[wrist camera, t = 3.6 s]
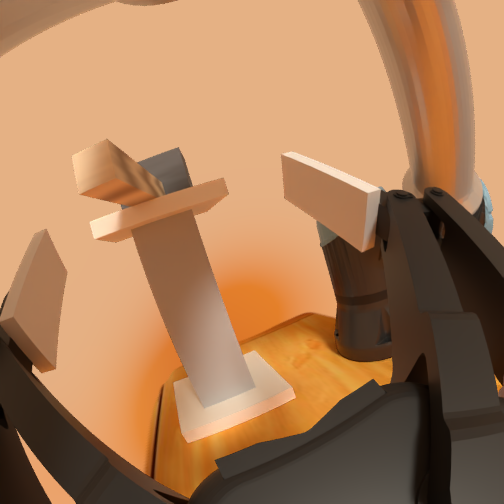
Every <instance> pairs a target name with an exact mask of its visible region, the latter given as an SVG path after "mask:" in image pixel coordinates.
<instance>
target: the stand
mask: <svg viewBox="0 0 504 504" xmlns="http://www.w3.org/2000/svg"><path fill="white" fill-rule="evenodd" d="M228 194H229V193H228V190H227V187H226V184H225V181H224V178H221V179H217V180H214V181H210V182H206V183H203V184H200V185H196V186H193V187H189V188H186V189H183V190H180V191H176V192H173V193H170V194H167V195H164V196H161V197H158V198H155V199H152V200H149V201H146V202H143V203H140V204H137V205H134V206H131V207H128V208H126V209H123V210H120V211H117V212H115V213H112V214H109V215H106V216H104V217H101V218H99V219H96V220H93V221H91V222H90V226H91V229H92V233H93V237H94V239H95V240H102V241H110V242H119V241H122V240H125V239H127V238H130V237H133V238H134V241H135V244H136V247H137V250H138V253H139V256H140V259H141V262H142V265H143V268H144V271H145V274H146V276H147V279H148V282H149V285H150V288H151V290H152V293H153V296H154V298H155V301H156V303H157V306H158V308H159V311H160V313H161V316H162V318H163V321H164V323H165V326H166V328H167V330H168V333H169V335H170V338H171V340H172V342H173V344H174V347H175V349H176V351H177V353H178V356H179V358H180V360H181V362H182V364H183V367H184V369H185V371H186V373H187V375H188V377H187V378H184V379H181V380H178V381H176V382H173V385H174V392H175V399H176V405H177V411H178V417H179V423H180V428H181V433H182V435H183V436H184V438H185V440H186V441H187V443H190V442H193V441H196V440H199V439H202V438H205V437H207V436H210V435H213V434H215V433H218V432H221V431H223V430H226V429H228V428H231V427H233V426H236V425H238V424H241V423H243V422H245V421H248V420H250V419H252V418H255V417H257V416H259V415H261V414H263V413H266V412H268V411H270V410H272V409H274V408H276V407H278V406H280V405H282V404H284V403H286V402H288V401H290V400H292V399H294V398H296V397H295V394H294V391H293V388H292V386H291V385H290V384H289V383H288V382H286V381H285V380H284V379H283V378H282V377H281V376H280V375H279V374H278V373H277V372H276V371H275V370H274V369H273V368H272V367H271V366H270V365H269V364H268V363H267V362H266V361H265V360H264V359H263V358H262V357H261V356H260V355H259V354H258V353H257V352H256V351H255V350H254V351H252V352H249V353H247V354H245V355H243V354H242V351H241V348H240V346H239V343H238V341H237V338H236V335H235V333H234V330H233V327H232V325H231V322H230V319H229V317H228V314H227V311H226V308H225V305H224V303H223V300H222V297H221V294H220V292H219V289H218V286H217V283H216V281H215V278H214V274H213V272H212V269H211V266H210V263H209V260H208V257H207V254H206V251H205V248H204V245H203V242H202V239H201V236H200V233H199V230H198V227H197V224H196V221H195V218H194V216H195V215H198V214H201V213H204V212H207V211H208V210H209V209H211V208H212V207H213V206H214V205H216V204H217V203H218V202H219V201H221V200H222V199H223V198H224V197H225V196H227V195H228Z"/></svg>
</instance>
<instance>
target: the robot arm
mask: <svg viewBox="0 0 504 504" xmlns="http://www.w3.org/2000/svg"><path fill="white" fill-rule="evenodd" d="M115 1H117V2H120V3H124V4H130V5H140V6H141V5H142V6H147V5H158V4H165V3H169V2H173V1H177V0H0V57H1V56H3V55H4V54H6V53H7V52H9V51H10V50H12V49H14V48H15V47H17V46H19V45H20V44H22V43H24V42H25V41H27V40H29V39H31V38H32V37H34V36H36V35H38V34H40V33H42V32H43V31H45V30H47V29H49V28H51V27H53V26H55V25H57V24H59V23H62V22H64V21H66V20H68V19H70V18H73V17H75V16H77V15H80V14H82V13H85V12H87V11H90V10H93V9H95V8H98V7H101V6H104V5H107V4H109V3H112V2H115ZM358 2H359V4H360V6H361V8H362V10H363V13H364V15H365V17H366V19H367V22H368V24H369V26H370V29H371V31H372V34H373V36H374V38H375V41H376V44H377V46H378V49H379V52H380V54H381V57H382V60H383V63H384V66H385V69H386V72H387V75H388V78H389V81H390V84H391V88H392V91H393V95H394V98H395V101H396V105H397V109H398V113H399V117H400V121H401V125H402V130H403V134H404V138H405V143H406V148H407V153H408V158H409V164H410V168H409V169H408V171H407V172H406V174H405V176H404V178H403V183H402V185H403V186H402V187H403V190H391V191H389V192H386V191H385V190H384V189H383V188H382V187H375V186H373V185H371V184H369V183H367V182H364V181H362V180H360V179H358V178H356V177H354V176H351V175H349V174H347V173H344V172H342V171H339V170H338V169H335V168H333V167H330V166H328V165H326V164H323V163H321V162H318V161H316V160H313V159H311V158H308V157H306V156H303V155H300V154H298V153H295V152H288V153H284V154H281V158H282V171H283V182H284V183H283V184H284V198H285V199H286V200H288V201H289V202H291V203H292V204H294V205H295V206H297V207H298V208H300V209H301V210H303V211H304V212H305V213H307V214H308V215H310V216H311V217H313V218H314V219H316V220H317V229H318V233H319V237H320V242H321V243H320V246H321V247H322V249H323V252H324V256H325V260H326V263H327V267H328V270H329V274H330V278H331V281H332V285H333V289H334V293H335V296H336V301H337V314H336V324H335V333H334V337H335V342H336V346H337V350H338V352H339V353H340V354H341V355H342V356H344V357H346V358H348V359H351V360H355V361H377V360H382V359H386V358H390V357H392V361H393V373H392V379H391V383H390V384H386V385H382V386H379V385H378V383H377V382H376V381H375V380H374V379H372V380H371V381H369V382H368V383H366V384H365V385H363V386H362V387H360V388H359V389H357V390H356V391H354V392H353V393H351V394H349V395H348V396H346V397H345V398H343V399H341V400H340V401H339V402H338V403H337V404H336V405H335V406H334V407H333V408H332V409H331V410H330V411H329V412H328V413H327V414H326V415H325V416H324V417H323V418H322V419H321V420H320V421H319V422H318V423H317V424H315V425H314V426H313V427H312V428H311V429H310V430H308V431H307V432H305V433H301V434H297V435H293V436H289V437H285V438H281V439H276V440H271V441H267V442H261V443H257V444H255V445H252V446H250V447H248V448H245V449H243V450H240V451H238V452H235V453H233V454H230V455H228V456H225V457H222V458H219V459H217V460H215V462H216V464H217V466H218V468H219V469H217V470H216V471H214V472H213V473H212V474H210V475H209V476H208V477H207V478H206V479H204V481H203V482H202V483H201V484H200V485H199V486H198V487H197V488H196V490H195V491H194V493H193V494H192V496H191V498H190V499H189V498H187V497H185V496H183V495H181V494H179V493H177V492H175V491H173V490H171V489H169V488H167V487H165V486H164V485H162V484H160V483H158V482H157V481H155V480H154V479H152V478H151V477H149V476H147V475H146V474H144V473H143V472H141V471H140V470H139V469H137V468H136V467H134V466H133V465H131V464H130V463H129V462H127V461H126V460H125V459H123V458H122V457H120V456H119V455H118V454H116V453H115V452H114V451H113V450H111V449H110V448H109V447H108V446H107V445H105V444H104V443H103V442H102V441H100V440H99V439H98V438H97V437H96V436H95V435H93V434H92V433H91V432H90V431H89V430H88V429H87V428H86V427H84V426H83V425H82V424H81V423H80V422H79V421H78V420H77V419H76V418H75V417H73V416H72V414H70V413H69V412H68V410H67V409H65V407H64V406H63V405H62V404H61V403H59V401H58V400H57V399H56V398H55V397H54V396H53V395H52V394H51V393H50V392H49V391H48V389H47V388H46V387H45V386H44V385H43V384H42V383H41V382H40V380H39V379H38V378H37V377H36V376H35V375H34V374H33V373H32V365H34V366H35V367H36V368H37V369H38V370H39V371H40V372H41V373H44V372H47V371H51V370H54V369H56V357H57V344H58V333H59V323H60V315H61V307H62V300H63V294H64V288H65V282H66V276H67V271H66V269H65V267H64V265H63V263H62V261H61V259H60V257H59V255H58V253H57V251H56V249H55V247H54V244H53V242H52V240H51V238H50V236H49V234H48V231H47V229H44V230H42V231H40V232H38V233H35V234H34V237H33V238H32V240H31V242H30V244H29V247H28V249H27V251H26V253H25V255H24V257H23V259H22V262H21V264H20V266H19V269H18V271H17V273H16V275H15V278H14V281H13V283H12V285H11V288H10V291H9V292H8V294H7V295H6V296H5V298H4V300H3V303H2V306H1V308H0V504H52V503H51V501H50V500H49V498H48V496H47V495H46V493H45V491H44V489H43V487H42V486H41V484H40V482H39V480H38V478H37V476H36V474H35V472H34V470H33V468H32V466H31V464H30V462H29V460H28V457H27V455H26V453H25V450H24V448H23V446H22V443H21V441H20V438H19V436H18V433H17V431H18V432H19V434H20V435H21V437H22V438H23V440H24V441H25V442H26V444H27V445H28V446H29V448H30V449H31V451H32V452H33V453H34V455H35V456H36V457H37V458H38V460H39V461H40V462H41V463H42V465H43V466H44V467H45V468H46V470H47V471H48V472H49V473H50V474H51V475H52V477H53V478H54V479H55V480H56V481H57V482H58V483H59V484H60V485H61V487H62V488H63V489H64V490H65V491H66V492H67V493H68V494H69V495H70V496H71V497H72V498H73V499H74V501H75V502H76V504H504V247H503V246H502V245H501V244H500V243H499V242H498V241H497V239H496V238H495V237H494V236H493V235H492V229H493V218H492V215H491V212H492V211H493V209H492V203H491V199H490V196H489V193H488V190H487V188H486V186H485V184H484V183H483V182H482V180H481V179H480V178H479V176H478V175H477V173H476V172H475V171H474V163H475V162H474V161H475V123H474V106H473V93H472V84H471V75H470V68H469V62H468V57H467V50H466V45H465V41H464V36H463V31H462V27H461V23H460V19H459V16H458V12H457V9H456V5H455V2H454V0H358ZM494 374H495V376H496V378H497V379H498V380H499V382H500V383H501V385H502V386H503V387H502V388H501V389H500V391H499V395H498V391H497V386H496V381H495V376H494ZM498 396H499V397H498ZM16 429H17V431H16Z"/></svg>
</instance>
